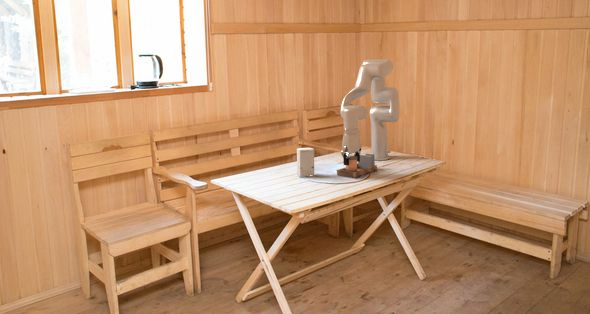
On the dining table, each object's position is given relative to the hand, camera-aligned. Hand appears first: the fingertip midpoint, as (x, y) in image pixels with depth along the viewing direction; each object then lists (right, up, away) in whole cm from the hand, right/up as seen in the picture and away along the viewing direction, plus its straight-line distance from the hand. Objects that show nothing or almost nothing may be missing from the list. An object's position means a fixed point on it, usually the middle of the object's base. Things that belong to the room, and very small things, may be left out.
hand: (351, 163), depth 297 cm
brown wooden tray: (+3, -5, +5) cm, 8 cm away
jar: (0, -5, +1) cm, 5 cm away
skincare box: (-24, -7, +4) cm, 25 cm away
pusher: (+10, -2, +12) cm, 15 cm away
